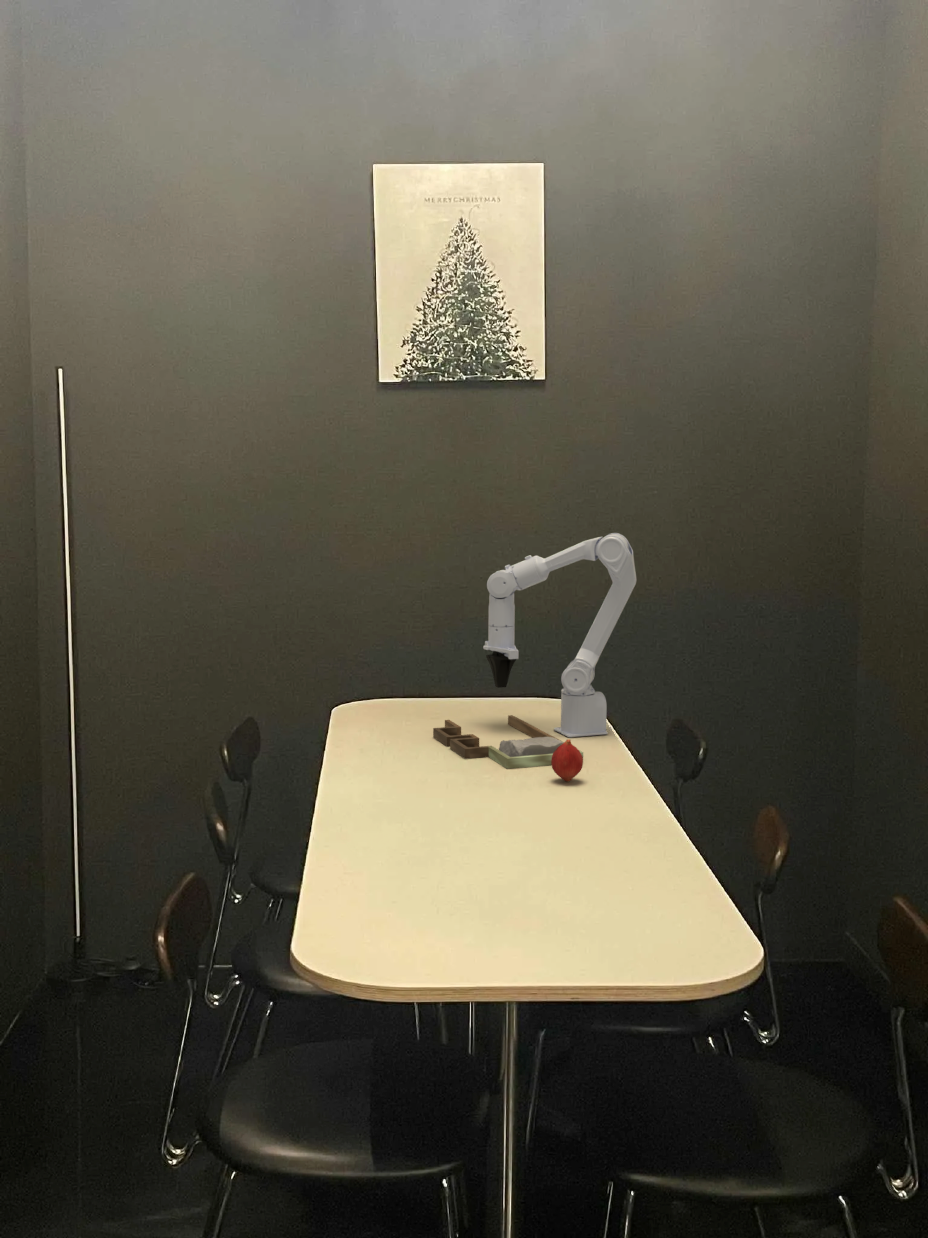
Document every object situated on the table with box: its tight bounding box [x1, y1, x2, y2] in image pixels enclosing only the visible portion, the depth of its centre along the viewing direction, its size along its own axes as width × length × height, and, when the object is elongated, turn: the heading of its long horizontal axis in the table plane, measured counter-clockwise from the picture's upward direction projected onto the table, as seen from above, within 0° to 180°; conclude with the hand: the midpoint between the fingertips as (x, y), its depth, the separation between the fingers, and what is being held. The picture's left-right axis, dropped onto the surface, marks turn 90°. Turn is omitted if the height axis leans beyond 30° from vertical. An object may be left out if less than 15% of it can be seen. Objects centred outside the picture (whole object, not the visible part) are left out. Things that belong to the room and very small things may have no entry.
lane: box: [432, 714, 584, 770], centre depth 249 cm, size 21×37×2 cm, turn 20°
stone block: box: [498, 736, 565, 757], centre depth 241 cm, size 12×5×10 cm
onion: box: [551, 738, 584, 783], centre depth 221 cm, size 6×6×8 cm
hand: (500, 687), depth 264 cm, fingers closed
